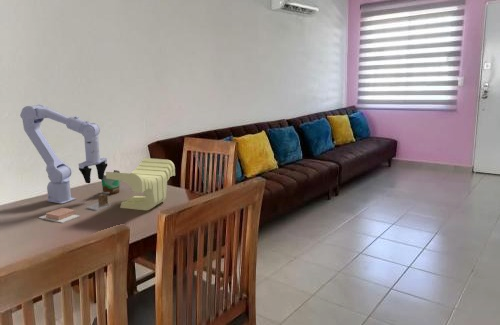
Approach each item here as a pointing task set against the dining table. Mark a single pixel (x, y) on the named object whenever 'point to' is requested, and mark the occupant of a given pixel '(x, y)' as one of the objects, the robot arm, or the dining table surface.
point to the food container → (110, 185)
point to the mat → (60, 219)
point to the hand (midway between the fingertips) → (94, 181)
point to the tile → (60, 213)
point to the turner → (102, 203)
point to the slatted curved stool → (146, 182)
